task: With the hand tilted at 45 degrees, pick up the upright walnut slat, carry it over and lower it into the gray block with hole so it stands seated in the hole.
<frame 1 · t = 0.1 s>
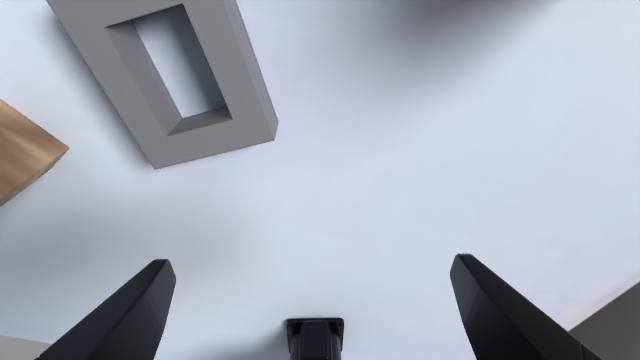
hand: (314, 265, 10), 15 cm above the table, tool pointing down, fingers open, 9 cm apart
gray block with hole: (190, 64, 21), on the table
slat: (25, 135, 23), on the table
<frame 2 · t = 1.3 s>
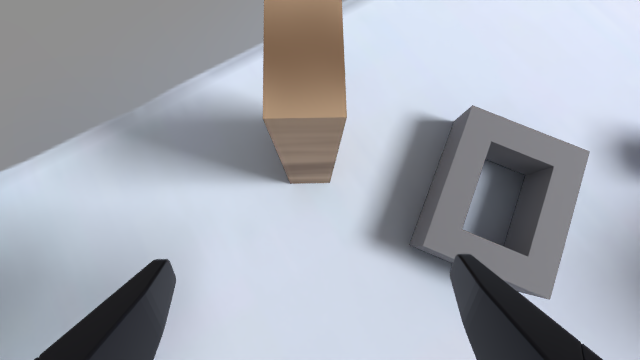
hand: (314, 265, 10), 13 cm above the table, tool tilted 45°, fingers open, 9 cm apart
gray block with hole: (485, 202, 24), on the table
slat: (309, 151, 25), on the table
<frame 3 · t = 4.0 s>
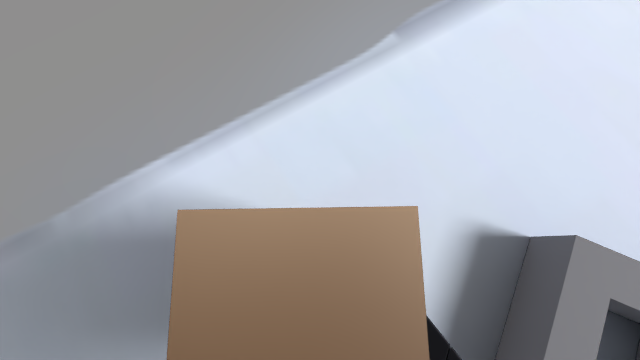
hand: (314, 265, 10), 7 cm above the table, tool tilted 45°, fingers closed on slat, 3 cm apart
slat: (314, 285, 16), on the table, touching gripper
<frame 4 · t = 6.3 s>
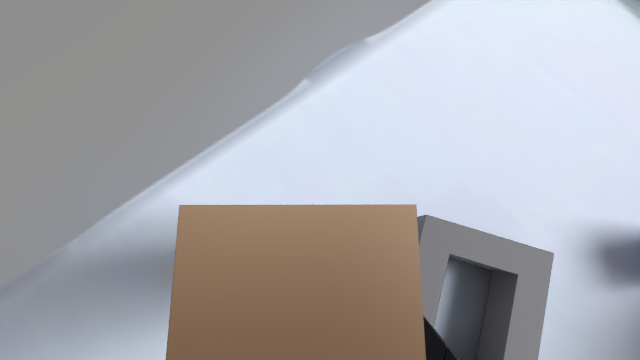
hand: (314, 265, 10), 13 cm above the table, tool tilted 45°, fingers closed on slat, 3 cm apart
gray block with hole: (453, 306, 23), on the table
slat: (318, 285, 16), point 7 cm above the table, touching gripper
when the fingers open (8 cm above the table, at t = 8.7 s): slat drops 1 cm, resting in gray block with hole.
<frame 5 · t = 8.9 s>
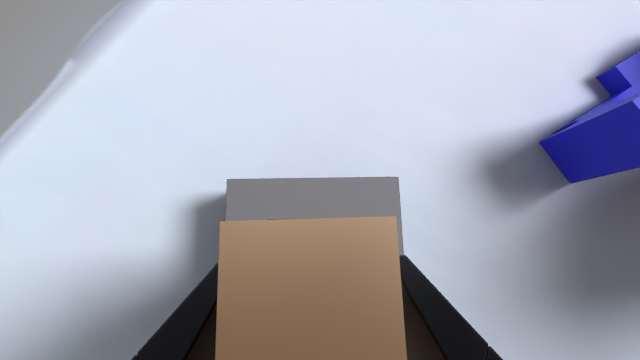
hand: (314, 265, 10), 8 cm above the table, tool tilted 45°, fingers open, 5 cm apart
gray block with hole: (314, 281, 18), on the table
cable clip: (614, 108, 20), on the table
slat: (315, 281, 18), resting in gray block with hole
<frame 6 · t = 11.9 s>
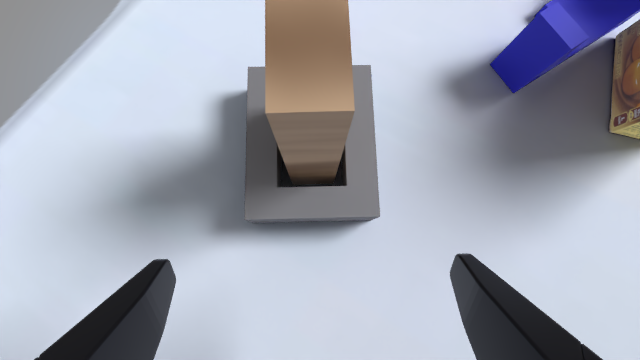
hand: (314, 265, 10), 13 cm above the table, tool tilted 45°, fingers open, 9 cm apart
gray block with hole: (311, 151, 24), on the table
candy box: (633, 90, 26), on the table
cable clip: (548, 39, 27), on the table
slat: (312, 151, 24), resting in gray block with hole
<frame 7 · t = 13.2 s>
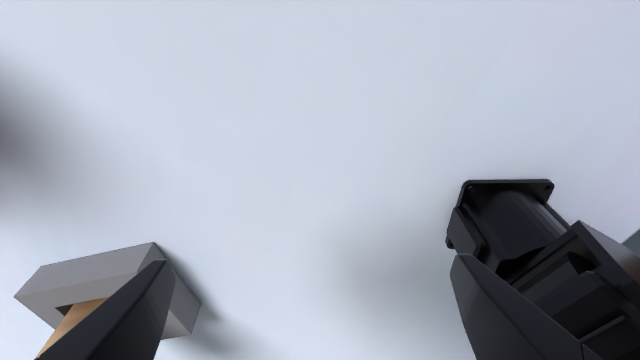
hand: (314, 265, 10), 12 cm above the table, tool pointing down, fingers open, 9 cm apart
gray block with hole: (125, 286, 28), on the table
slat: (125, 285, 28), resting in gray block with hole
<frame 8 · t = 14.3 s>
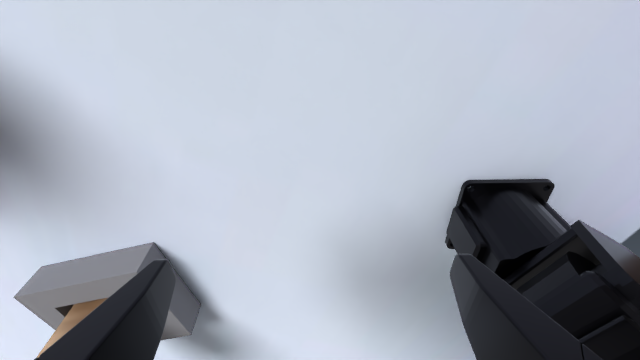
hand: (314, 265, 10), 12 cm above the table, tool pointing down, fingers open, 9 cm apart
gray block with hole: (125, 286, 29), on the table
slat: (125, 286, 28), resting in gray block with hole
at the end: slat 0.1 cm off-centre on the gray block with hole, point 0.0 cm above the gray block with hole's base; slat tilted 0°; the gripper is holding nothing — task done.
